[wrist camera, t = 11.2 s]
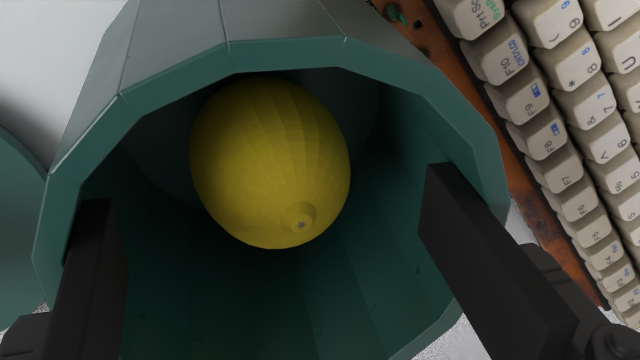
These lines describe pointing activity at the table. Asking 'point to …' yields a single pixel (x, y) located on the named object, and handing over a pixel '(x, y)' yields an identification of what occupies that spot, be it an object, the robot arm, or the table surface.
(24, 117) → the table surface
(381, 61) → the pot
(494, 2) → the mechanical keyboard
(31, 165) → the lid
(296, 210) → the lemon
